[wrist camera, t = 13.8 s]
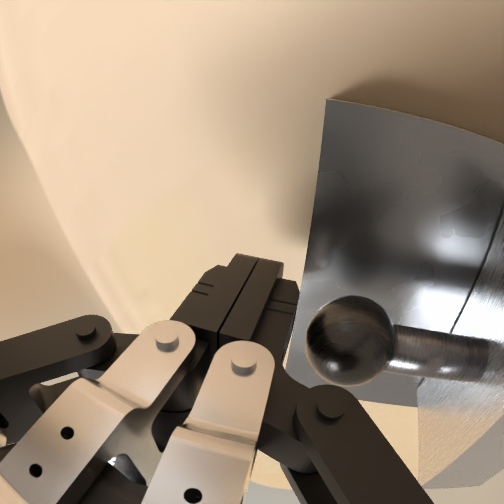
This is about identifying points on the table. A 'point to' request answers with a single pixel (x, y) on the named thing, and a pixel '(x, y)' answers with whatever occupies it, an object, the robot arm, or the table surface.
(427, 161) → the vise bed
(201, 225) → the table surface
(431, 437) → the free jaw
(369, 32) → the table surface
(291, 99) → the table surface
